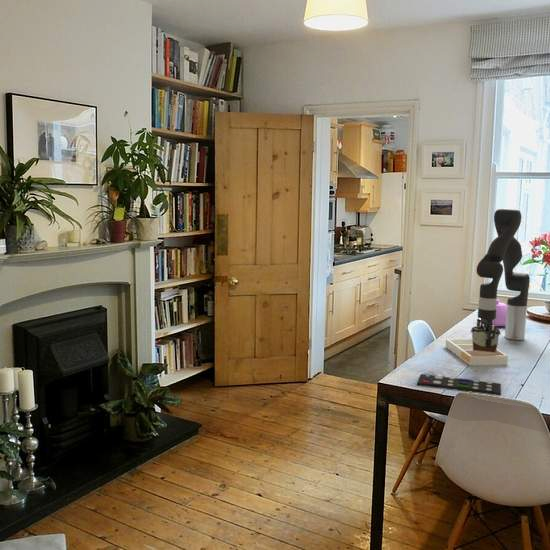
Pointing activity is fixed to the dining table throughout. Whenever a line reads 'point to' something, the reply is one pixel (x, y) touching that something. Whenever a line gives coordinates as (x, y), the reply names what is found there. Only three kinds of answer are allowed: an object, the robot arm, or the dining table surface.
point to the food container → (483, 340)
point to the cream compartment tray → (475, 353)
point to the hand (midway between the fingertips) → (484, 345)
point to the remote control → (459, 384)
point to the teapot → (500, 314)
